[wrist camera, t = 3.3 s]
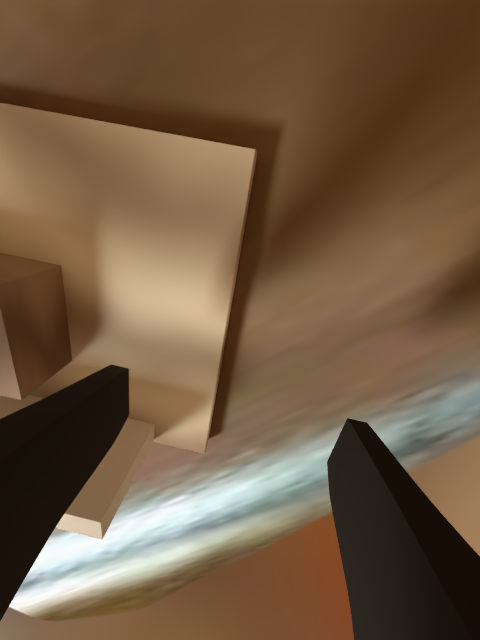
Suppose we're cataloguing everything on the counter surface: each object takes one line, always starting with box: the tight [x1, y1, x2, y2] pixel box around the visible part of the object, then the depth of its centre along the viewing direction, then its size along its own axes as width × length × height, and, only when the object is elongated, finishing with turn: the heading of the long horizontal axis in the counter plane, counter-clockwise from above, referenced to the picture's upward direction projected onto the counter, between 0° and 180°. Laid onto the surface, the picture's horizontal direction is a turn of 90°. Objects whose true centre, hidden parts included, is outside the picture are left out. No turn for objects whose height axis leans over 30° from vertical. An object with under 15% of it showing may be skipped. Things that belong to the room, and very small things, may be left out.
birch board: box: [0, 103, 257, 454], centre depth 13 cm, size 15×21×1 cm
